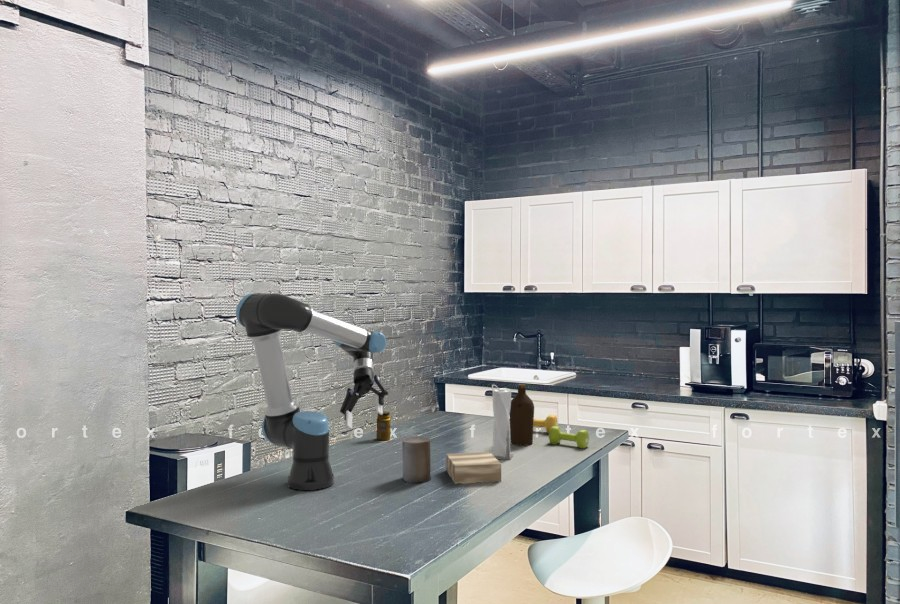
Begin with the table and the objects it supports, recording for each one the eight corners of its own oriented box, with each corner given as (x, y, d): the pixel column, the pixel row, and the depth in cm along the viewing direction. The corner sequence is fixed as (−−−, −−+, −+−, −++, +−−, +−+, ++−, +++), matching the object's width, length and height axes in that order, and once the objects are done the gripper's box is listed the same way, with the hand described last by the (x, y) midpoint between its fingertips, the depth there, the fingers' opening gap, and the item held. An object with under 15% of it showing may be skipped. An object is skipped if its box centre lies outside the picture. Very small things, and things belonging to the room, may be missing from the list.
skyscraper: (488, 458, 246) (488, 385, 245) (493, 452, 253) (493, 382, 253) (510, 459, 243) (510, 386, 243) (514, 454, 251) (514, 383, 251)
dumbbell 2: (590, 446, 265) (591, 429, 265) (583, 450, 259) (583, 432, 259) (554, 441, 275) (555, 424, 275) (546, 444, 268) (546, 427, 268)
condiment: (394, 438, 278) (394, 411, 277) (384, 443, 270) (384, 414, 270) (379, 437, 280) (379, 410, 280) (369, 441, 273) (369, 413, 272)
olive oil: (537, 445, 266) (538, 385, 266) (514, 446, 264) (514, 386, 263) (528, 439, 277) (528, 382, 276) (505, 440, 274) (505, 383, 274)
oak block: (501, 481, 215) (501, 463, 215) (454, 483, 212) (454, 465, 212) (489, 468, 231) (489, 452, 231) (446, 470, 228) (446, 453, 228)
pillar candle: (435, 476, 220) (435, 433, 220) (422, 484, 211) (422, 439, 211) (410, 473, 224) (410, 431, 224) (397, 481, 215) (396, 437, 215)
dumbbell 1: (513, 431, 293) (513, 414, 293) (520, 428, 301) (520, 410, 301) (554, 435, 285) (554, 417, 285) (559, 431, 293) (559, 414, 293)
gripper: (396, 364, 238) (398, 411, 224) (344, 390, 246) (343, 437, 232) (384, 354, 233) (386, 402, 219) (331, 381, 242) (329, 428, 227)
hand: (364, 420), depth 225 cm, fingers open, 13 cm apart
